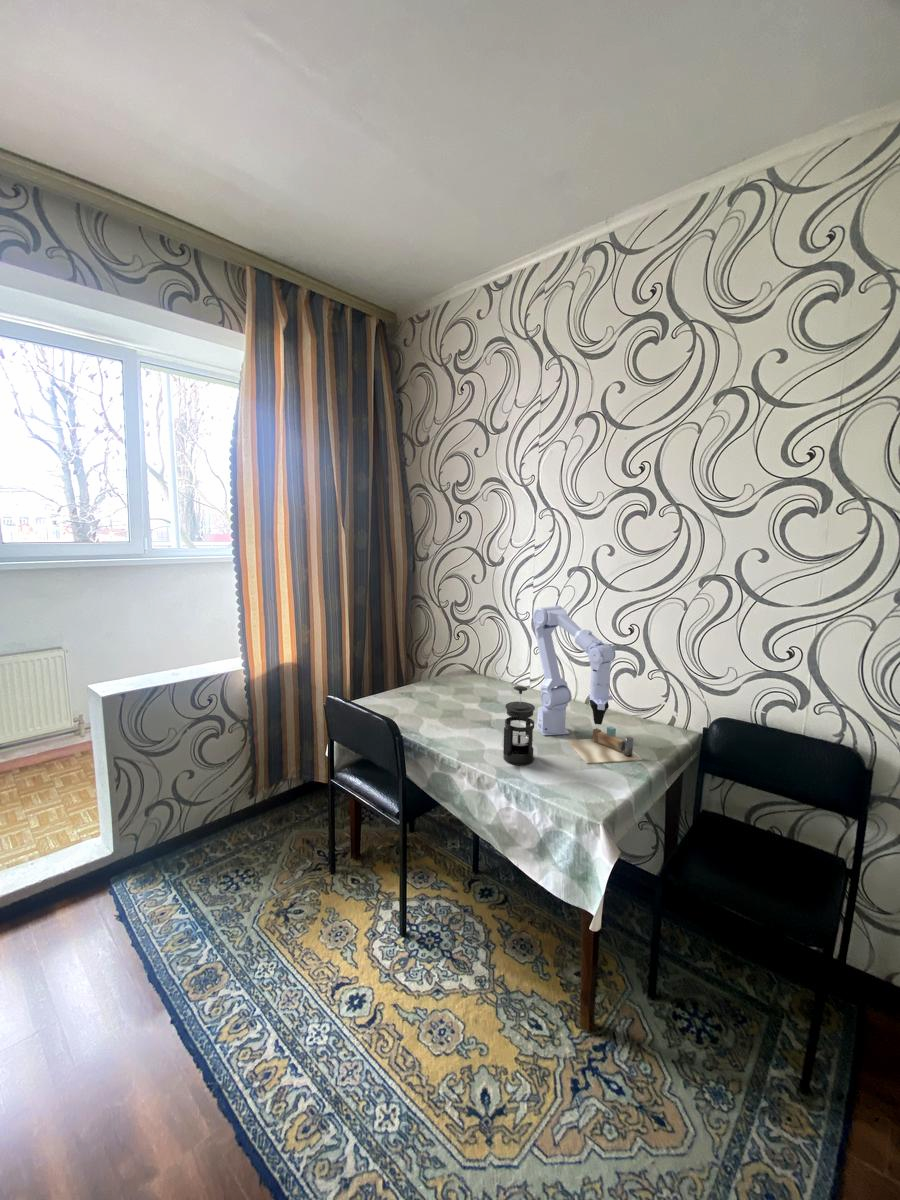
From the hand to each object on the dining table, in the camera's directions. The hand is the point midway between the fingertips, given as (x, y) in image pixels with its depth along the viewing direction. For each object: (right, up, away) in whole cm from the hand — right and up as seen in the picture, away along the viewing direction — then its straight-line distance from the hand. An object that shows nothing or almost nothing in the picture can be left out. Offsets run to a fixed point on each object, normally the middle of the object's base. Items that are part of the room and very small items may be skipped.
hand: (597, 723), depth 156 cm
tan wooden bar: (+5, -8, +4) cm, 10 cm away
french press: (-26, -10, -4) cm, 28 cm away
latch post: (+7, -8, +9) cm, 14 cm away
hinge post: (+9, -10, -2) cm, 13 cm away
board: (+2, -9, +2) cm, 10 cm away
